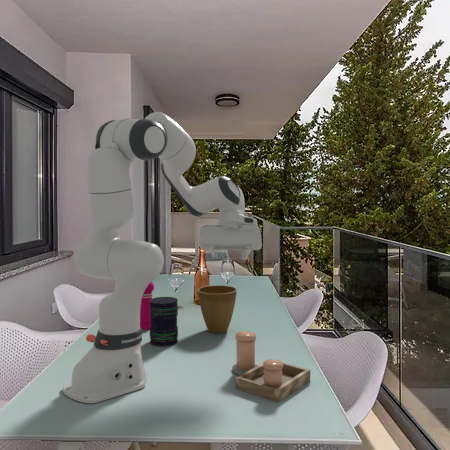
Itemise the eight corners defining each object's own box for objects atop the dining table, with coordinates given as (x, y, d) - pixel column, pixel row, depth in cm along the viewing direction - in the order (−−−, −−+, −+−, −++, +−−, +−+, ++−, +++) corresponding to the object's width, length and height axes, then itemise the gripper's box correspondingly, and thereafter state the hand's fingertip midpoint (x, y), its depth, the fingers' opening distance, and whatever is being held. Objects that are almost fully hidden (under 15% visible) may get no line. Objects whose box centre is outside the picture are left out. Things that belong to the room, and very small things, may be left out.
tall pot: (248, 373, 126) (248, 338, 125) (231, 368, 130) (231, 334, 129) (259, 367, 131) (260, 333, 130) (243, 362, 134) (243, 330, 134)
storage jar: (158, 336, 162) (158, 295, 161) (183, 339, 159) (182, 298, 158) (144, 344, 153) (143, 301, 152) (169, 348, 149) (169, 304, 148)
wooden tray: (277, 402, 110) (277, 390, 110) (235, 388, 118) (235, 377, 118) (310, 380, 123) (310, 369, 123) (270, 369, 131) (270, 359, 131)
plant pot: (211, 323, 179) (211, 283, 178) (243, 328, 172) (243, 287, 171) (189, 332, 167) (189, 290, 166) (223, 339, 159) (223, 295, 158)
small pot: (276, 395, 112) (276, 368, 112) (258, 390, 115) (259, 363, 115) (286, 388, 116) (286, 362, 116) (269, 383, 119) (269, 358, 119)
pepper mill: (152, 330, 169) (151, 278, 168) (134, 329, 170) (133, 277, 169) (158, 325, 176) (158, 275, 175) (141, 324, 177) (141, 274, 176)
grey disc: (249, 378, 125) (249, 375, 125) (226, 371, 130) (226, 368, 129) (264, 369, 131) (264, 367, 131) (242, 363, 136) (242, 360, 136)
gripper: (199, 219, 148) (196, 252, 138) (261, 219, 146) (262, 252, 137) (201, 231, 152) (197, 264, 143) (261, 231, 151) (261, 264, 142)
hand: (229, 258), depth 140 cm, fingers open, 8 cm apart
